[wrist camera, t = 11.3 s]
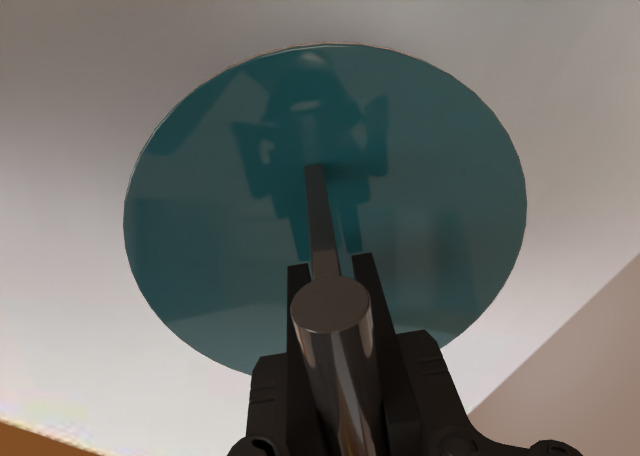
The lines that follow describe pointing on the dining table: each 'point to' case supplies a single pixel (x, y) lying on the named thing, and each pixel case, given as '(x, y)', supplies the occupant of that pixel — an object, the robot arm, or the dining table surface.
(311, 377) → the lid
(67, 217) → the dining table surface
